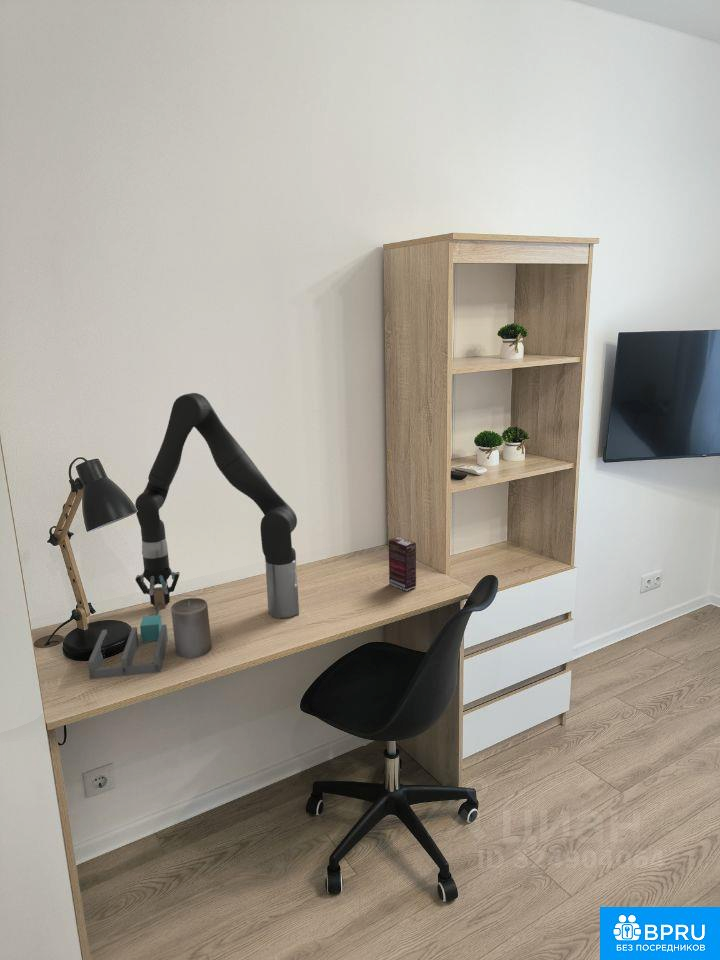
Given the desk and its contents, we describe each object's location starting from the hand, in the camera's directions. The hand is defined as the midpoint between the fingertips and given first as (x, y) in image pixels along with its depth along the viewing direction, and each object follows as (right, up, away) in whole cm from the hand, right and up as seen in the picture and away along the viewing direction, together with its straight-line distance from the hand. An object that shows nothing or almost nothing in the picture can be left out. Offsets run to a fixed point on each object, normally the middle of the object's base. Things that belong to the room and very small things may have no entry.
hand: (160, 604), depth 218 cm
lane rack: (+1, -9, -31) cm, 32 cm away
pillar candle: (+17, -8, -27) cm, 33 cm away
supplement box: (+77, +4, +12) cm, 78 cm away
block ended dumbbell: (+2, -4, -10) cm, 11 cm away
